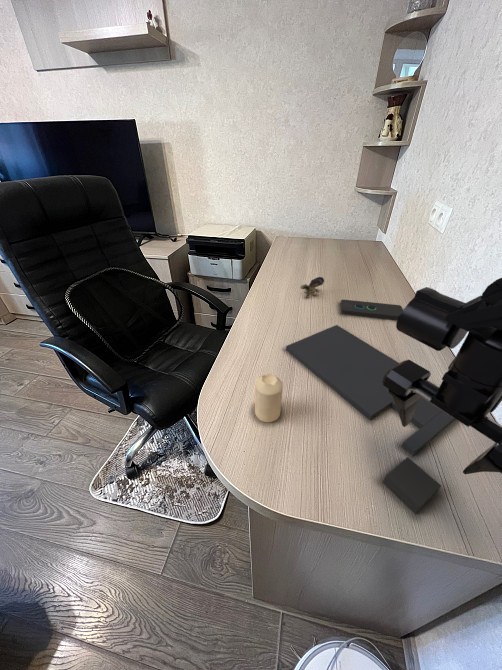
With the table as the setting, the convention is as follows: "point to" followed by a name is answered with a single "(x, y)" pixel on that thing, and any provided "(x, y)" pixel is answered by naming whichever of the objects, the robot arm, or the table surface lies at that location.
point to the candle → (268, 397)
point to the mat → (364, 380)
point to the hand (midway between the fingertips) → (432, 446)
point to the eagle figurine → (312, 286)
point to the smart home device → (371, 309)
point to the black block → (411, 484)
